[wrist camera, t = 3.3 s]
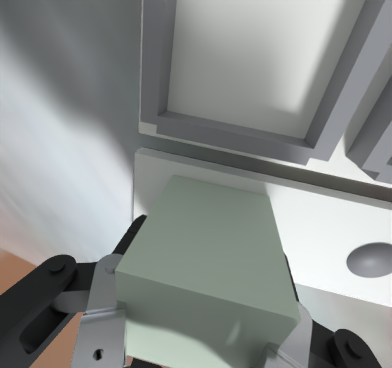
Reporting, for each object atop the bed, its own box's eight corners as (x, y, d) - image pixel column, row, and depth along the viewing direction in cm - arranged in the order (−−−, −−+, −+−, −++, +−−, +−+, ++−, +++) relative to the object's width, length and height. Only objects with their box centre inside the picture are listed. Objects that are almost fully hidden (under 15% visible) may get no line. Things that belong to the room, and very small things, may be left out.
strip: (496, 225, 11) (661, 324, 7) (408, 299, 15) (480, 396, 10) (141, 146, 12) (91, 188, 8) (138, 232, 16) (102, 293, 12)
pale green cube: (269, 196, 11) (301, 319, 6) (241, 262, 14) (245, 389, 9) (172, 174, 12) (114, 270, 6) (164, 243, 14) (119, 352, 9)
